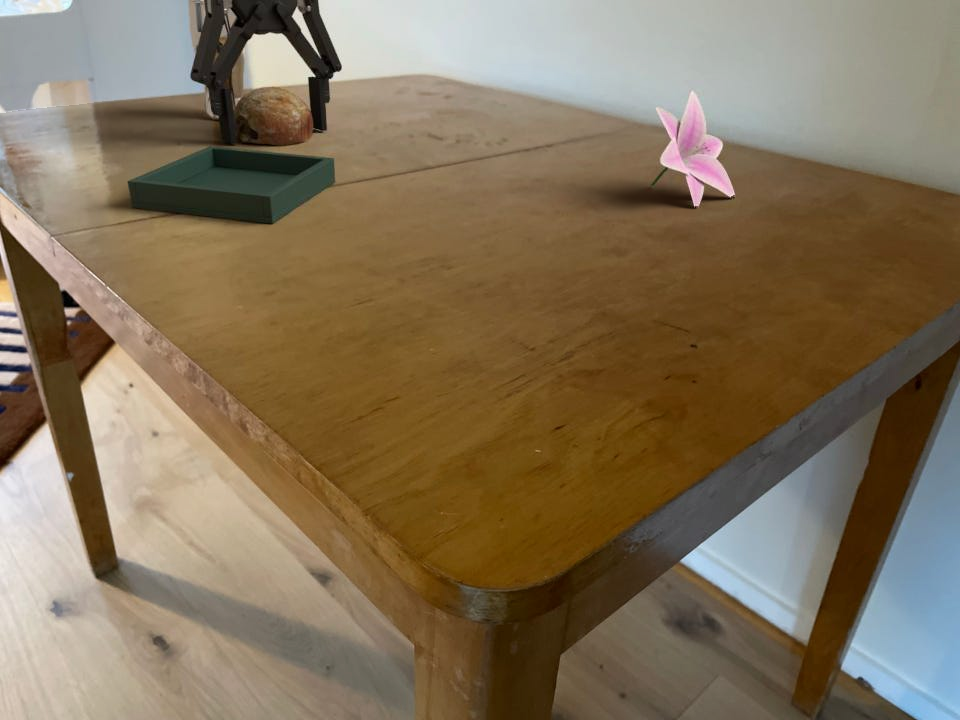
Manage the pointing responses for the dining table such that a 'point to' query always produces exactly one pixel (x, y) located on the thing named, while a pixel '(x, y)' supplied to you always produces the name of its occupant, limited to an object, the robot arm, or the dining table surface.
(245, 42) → the robot arm
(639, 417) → the dining table surface
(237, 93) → the beer glass
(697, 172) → the lily
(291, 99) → the bread roll
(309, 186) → the dark green square tray
